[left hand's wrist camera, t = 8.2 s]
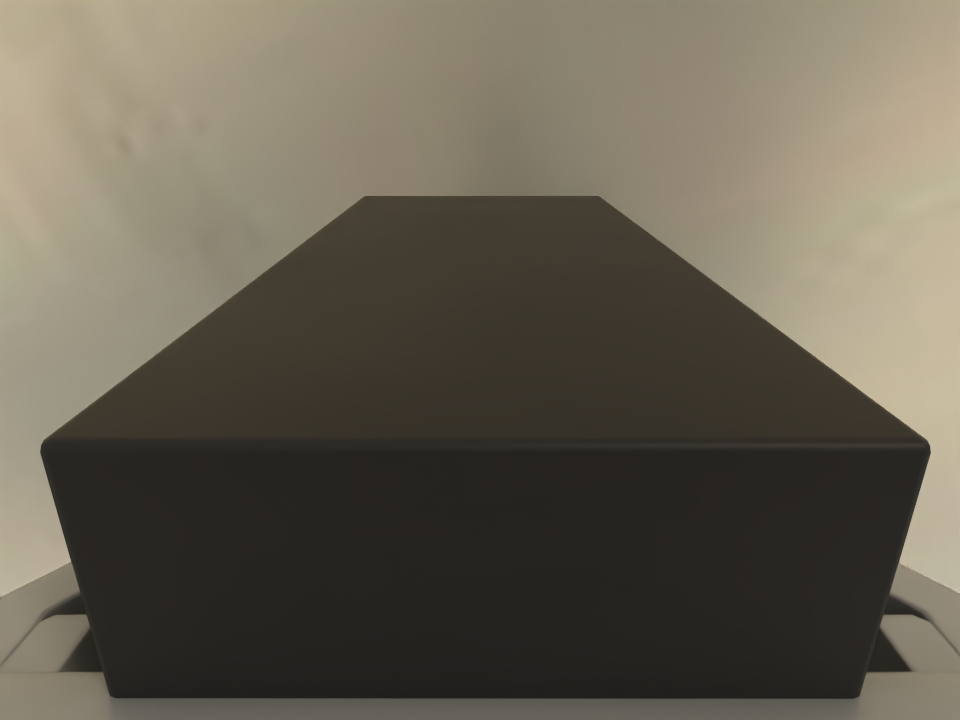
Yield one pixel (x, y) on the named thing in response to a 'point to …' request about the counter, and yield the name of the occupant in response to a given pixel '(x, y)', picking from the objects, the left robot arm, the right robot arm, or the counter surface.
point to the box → (484, 478)
